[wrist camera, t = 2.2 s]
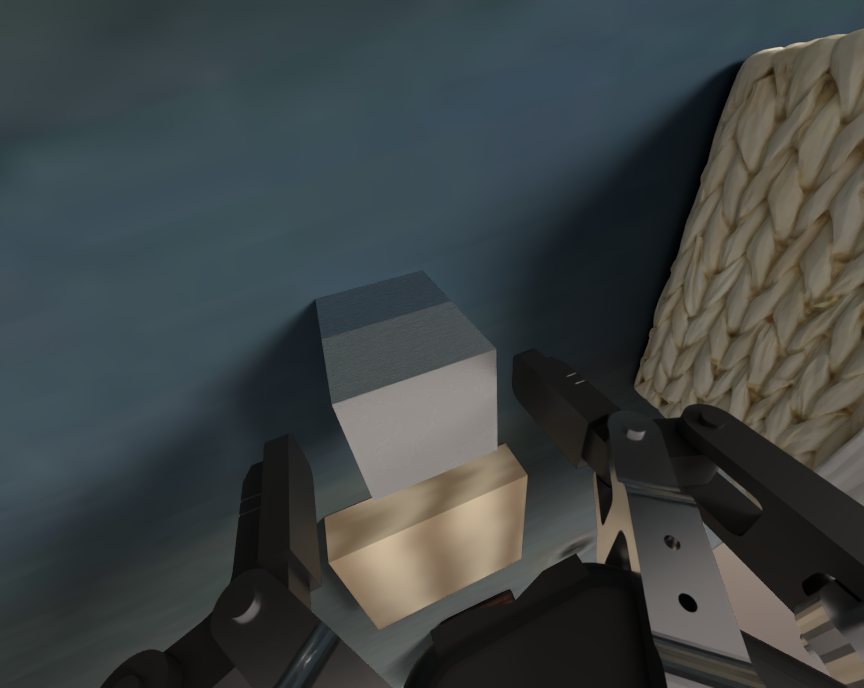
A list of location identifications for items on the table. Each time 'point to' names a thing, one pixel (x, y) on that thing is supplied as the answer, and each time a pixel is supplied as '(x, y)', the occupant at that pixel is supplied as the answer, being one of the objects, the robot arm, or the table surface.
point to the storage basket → (776, 264)
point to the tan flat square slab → (430, 536)
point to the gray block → (408, 381)
